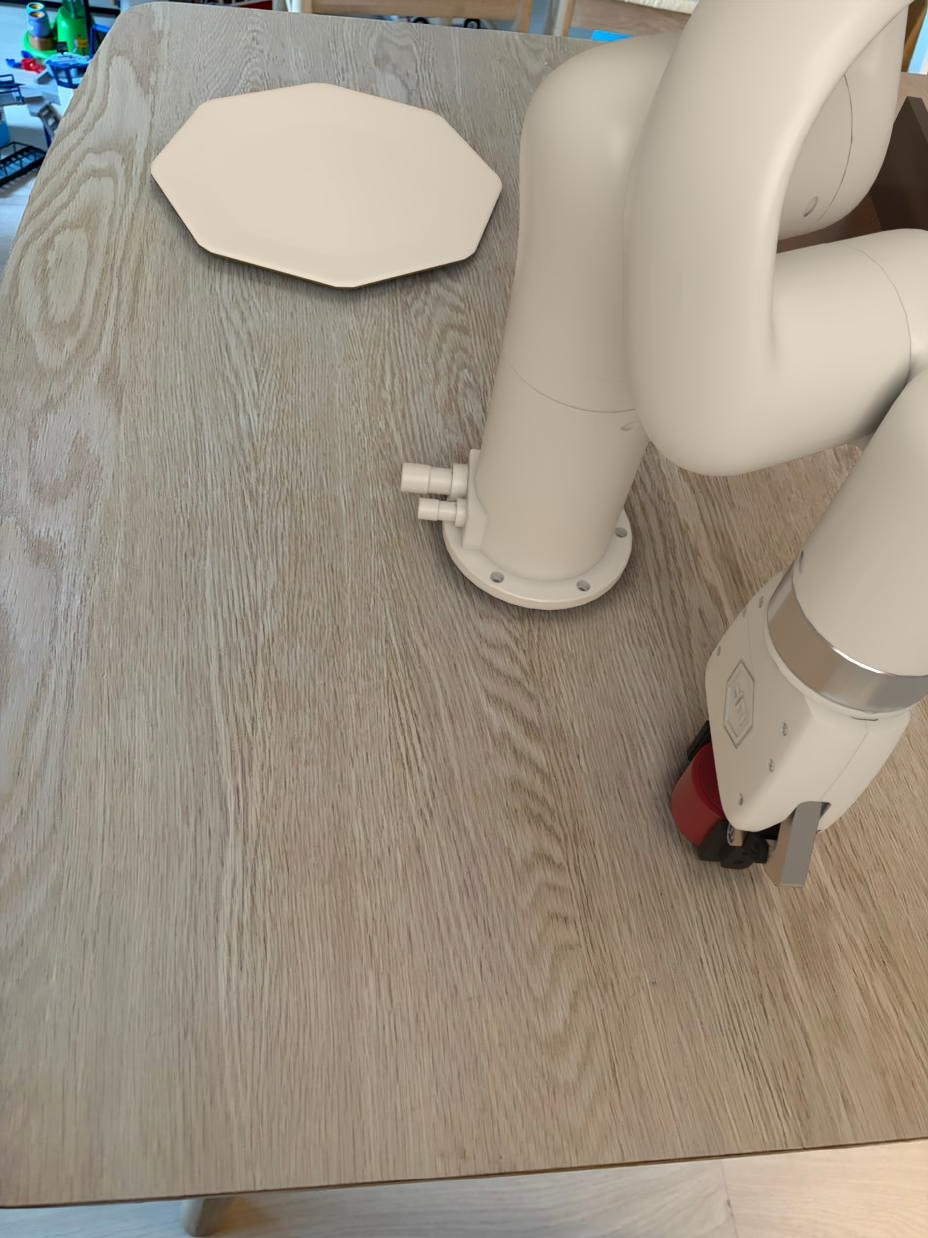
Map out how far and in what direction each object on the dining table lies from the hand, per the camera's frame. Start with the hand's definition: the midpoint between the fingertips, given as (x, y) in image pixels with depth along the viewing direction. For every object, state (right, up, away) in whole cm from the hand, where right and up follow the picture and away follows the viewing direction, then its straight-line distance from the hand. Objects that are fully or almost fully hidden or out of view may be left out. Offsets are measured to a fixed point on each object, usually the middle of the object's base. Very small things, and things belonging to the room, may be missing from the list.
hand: (719, 806), depth 58 cm
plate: (-26, +47, +30) cm, 61 cm away
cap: (0, 0, +1) cm, 1 cm away
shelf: (+12, +34, +27) cm, 45 cm away
